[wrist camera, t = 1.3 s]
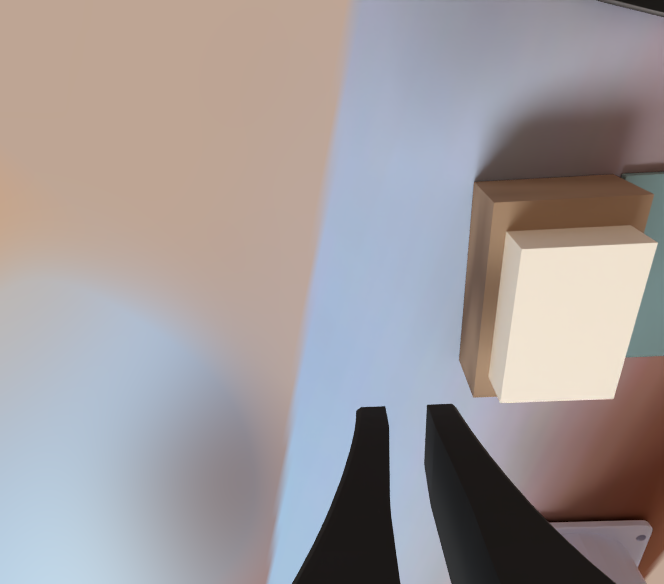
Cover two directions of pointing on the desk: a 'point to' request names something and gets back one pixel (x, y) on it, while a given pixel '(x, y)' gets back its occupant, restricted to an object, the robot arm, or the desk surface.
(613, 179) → the block
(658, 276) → the mat
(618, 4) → the phone
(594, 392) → the cream rectangular block
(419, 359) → the desk surface
